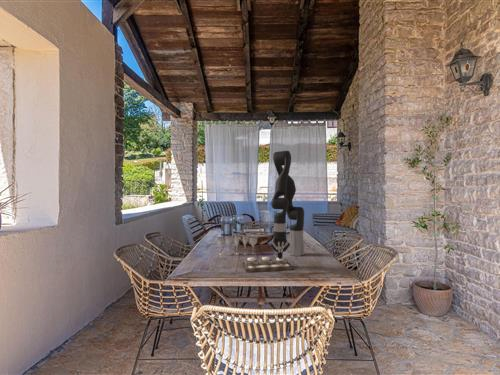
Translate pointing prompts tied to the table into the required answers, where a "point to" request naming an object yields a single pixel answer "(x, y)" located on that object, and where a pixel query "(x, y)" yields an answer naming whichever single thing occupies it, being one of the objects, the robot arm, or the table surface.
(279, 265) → the button board
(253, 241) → the goblet set
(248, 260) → the button
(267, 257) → the middle button
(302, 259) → the table surface
